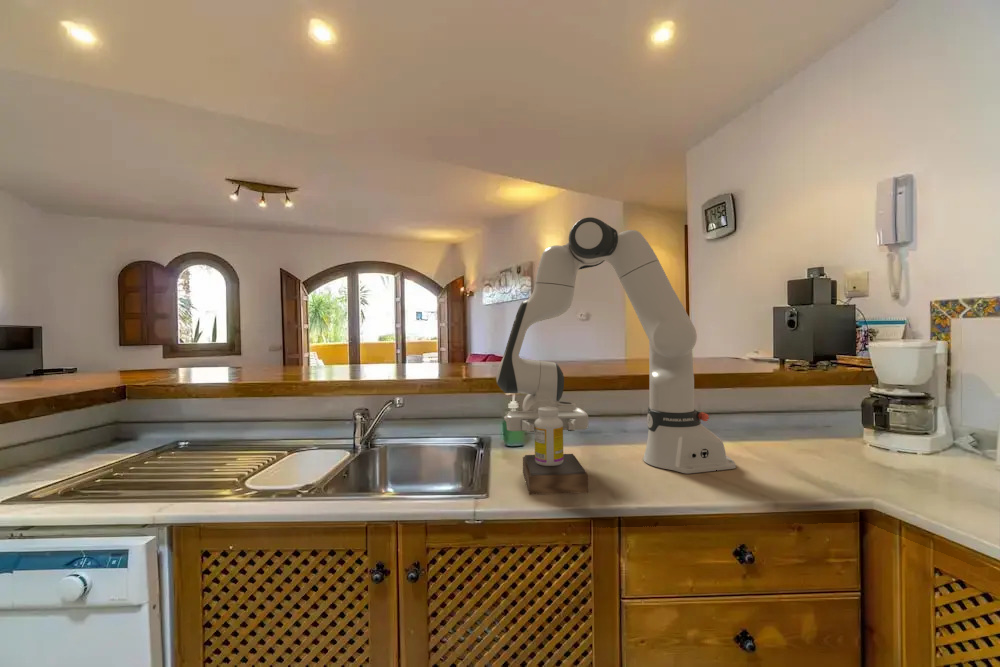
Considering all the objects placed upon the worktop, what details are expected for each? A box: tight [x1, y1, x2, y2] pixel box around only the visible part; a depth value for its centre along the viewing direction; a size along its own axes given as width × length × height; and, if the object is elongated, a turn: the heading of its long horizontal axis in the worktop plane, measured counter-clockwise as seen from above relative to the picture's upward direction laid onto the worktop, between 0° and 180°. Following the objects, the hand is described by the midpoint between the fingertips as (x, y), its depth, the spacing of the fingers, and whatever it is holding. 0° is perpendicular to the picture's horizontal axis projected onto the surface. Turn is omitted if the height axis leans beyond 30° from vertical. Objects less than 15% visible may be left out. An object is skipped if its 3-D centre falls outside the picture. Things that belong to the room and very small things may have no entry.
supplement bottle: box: [534, 407, 564, 466], centre depth 106 cm, size 7×7×13 cm
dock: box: [522, 453, 589, 495], centre depth 106 cm, size 13×14×5 cm
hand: (551, 428), depth 105 cm, fingers open, 8 cm apart
